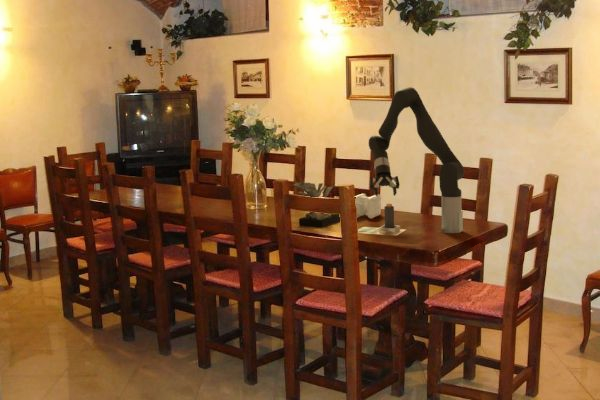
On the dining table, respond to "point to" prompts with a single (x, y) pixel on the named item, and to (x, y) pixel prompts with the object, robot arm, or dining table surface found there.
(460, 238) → the dining table surface
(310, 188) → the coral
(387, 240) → the dining table surface
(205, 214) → the dining table surface
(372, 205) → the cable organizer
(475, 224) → the dining table surface
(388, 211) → the dark grey cylinder
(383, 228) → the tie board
